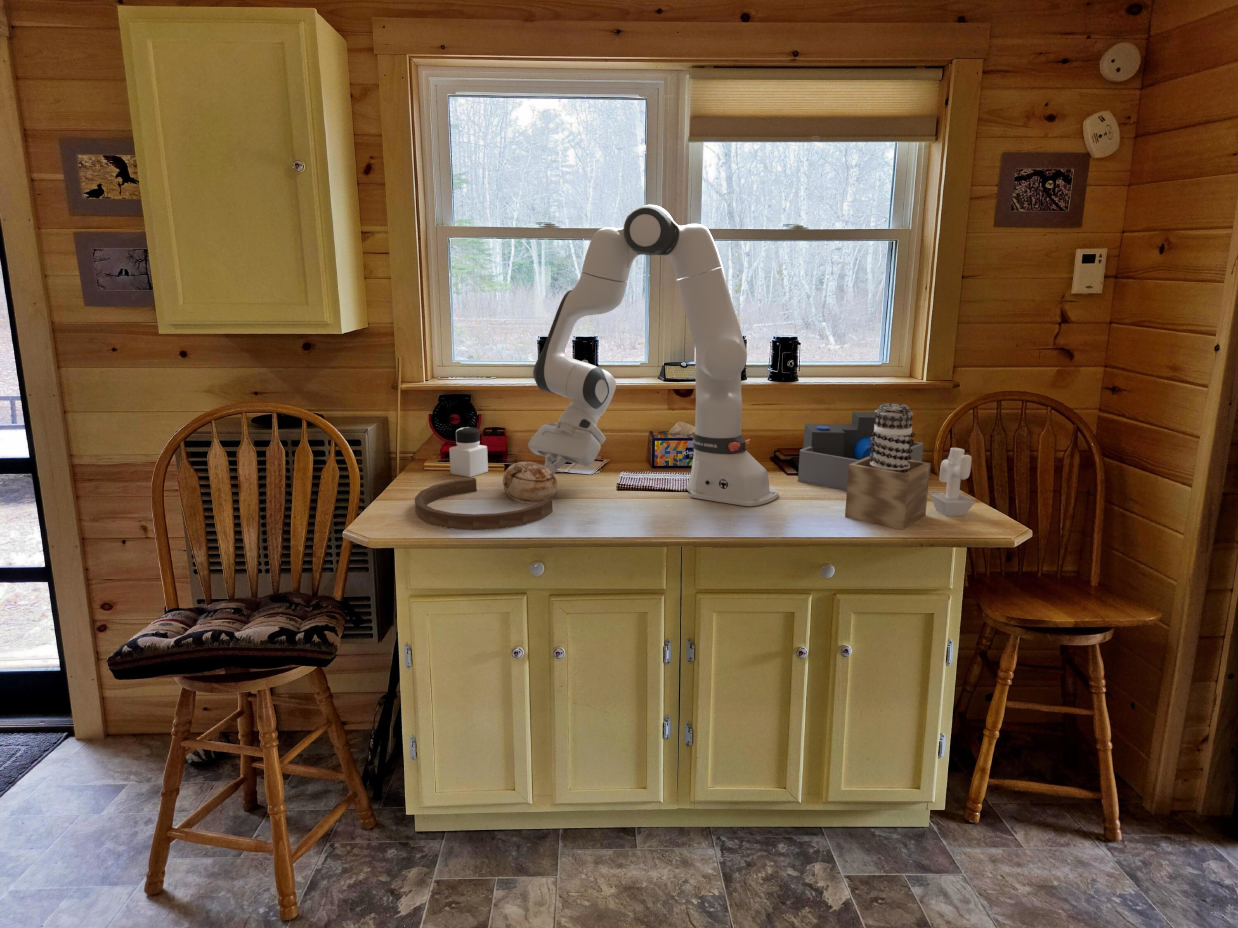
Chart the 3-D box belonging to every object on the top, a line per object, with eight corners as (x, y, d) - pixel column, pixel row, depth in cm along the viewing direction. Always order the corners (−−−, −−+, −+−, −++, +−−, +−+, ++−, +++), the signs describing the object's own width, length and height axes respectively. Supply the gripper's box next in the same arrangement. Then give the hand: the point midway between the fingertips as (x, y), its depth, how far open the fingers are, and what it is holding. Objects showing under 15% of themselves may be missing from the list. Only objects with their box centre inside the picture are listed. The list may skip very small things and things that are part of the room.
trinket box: (518, 485, 206) (517, 454, 204) (571, 492, 200) (570, 461, 198) (488, 499, 194) (486, 466, 192) (542, 507, 188) (542, 474, 186)
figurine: (954, 506, 190) (961, 443, 186) (976, 518, 181) (984, 452, 177) (924, 507, 189) (931, 443, 185) (945, 520, 180) (953, 453, 176)
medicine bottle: (488, 471, 218) (487, 427, 215) (470, 477, 212) (468, 432, 209) (468, 468, 222) (466, 424, 219) (449, 473, 216) (447, 429, 213)
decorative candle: (902, 525, 176) (913, 410, 170) (859, 518, 181) (868, 406, 175) (910, 513, 184) (921, 404, 178) (868, 507, 189) (877, 400, 182)
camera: (812, 483, 210) (817, 423, 206) (802, 467, 225) (805, 411, 221) (911, 485, 209) (918, 424, 205) (894, 469, 224) (899, 412, 220)
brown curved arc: (558, 513, 183) (558, 500, 183) (475, 540, 166) (475, 526, 165) (469, 488, 203) (469, 476, 202) (387, 509, 186) (386, 496, 185)
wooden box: (925, 515, 183) (930, 463, 180) (901, 529, 174) (907, 474, 171) (870, 503, 191) (874, 453, 188) (844, 516, 182) (848, 464, 179)
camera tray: (922, 472, 219) (925, 443, 217) (874, 496, 197) (876, 464, 195) (848, 459, 233) (851, 431, 231) (796, 480, 211) (798, 450, 209)
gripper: (539, 414, 210) (512, 457, 205) (598, 425, 197) (570, 472, 192) (552, 428, 214) (525, 471, 210) (611, 440, 201) (583, 486, 197)
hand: (547, 472), depth 201 cm, fingers closed
